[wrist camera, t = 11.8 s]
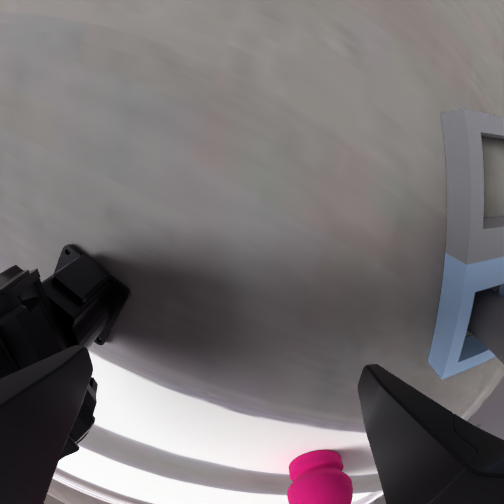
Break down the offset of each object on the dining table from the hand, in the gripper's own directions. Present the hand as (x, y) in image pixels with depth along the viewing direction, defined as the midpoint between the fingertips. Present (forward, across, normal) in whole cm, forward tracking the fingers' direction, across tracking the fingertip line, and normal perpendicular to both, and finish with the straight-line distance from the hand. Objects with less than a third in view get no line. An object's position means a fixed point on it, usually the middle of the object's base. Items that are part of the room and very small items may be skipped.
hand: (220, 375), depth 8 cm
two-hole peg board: (+12, -21, -2) cm, 25 cm away
